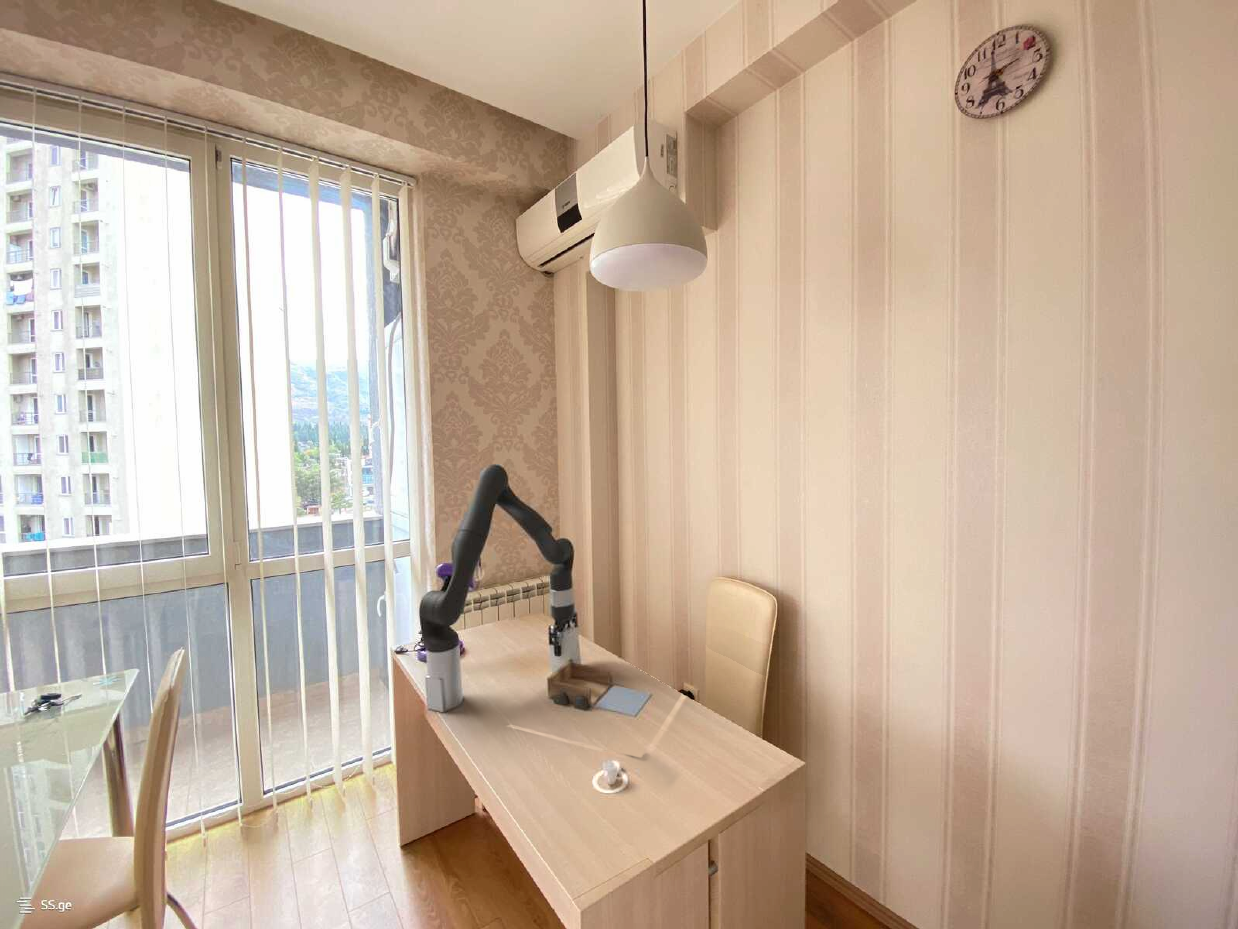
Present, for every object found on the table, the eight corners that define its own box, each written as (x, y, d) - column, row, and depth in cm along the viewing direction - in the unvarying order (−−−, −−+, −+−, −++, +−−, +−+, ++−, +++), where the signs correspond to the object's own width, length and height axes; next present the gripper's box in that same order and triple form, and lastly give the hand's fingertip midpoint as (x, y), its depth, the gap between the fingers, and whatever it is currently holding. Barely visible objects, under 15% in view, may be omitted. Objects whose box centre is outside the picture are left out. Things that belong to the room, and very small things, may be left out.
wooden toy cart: (587, 714, 140) (586, 690, 139) (545, 704, 146) (543, 681, 145) (613, 686, 155) (612, 664, 154) (574, 678, 161) (572, 656, 160)
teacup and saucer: (610, 764, 119) (609, 747, 119) (637, 778, 114) (636, 760, 114) (585, 785, 113) (584, 768, 112) (612, 801, 108) (611, 782, 107)
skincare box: (581, 671, 165) (579, 627, 164) (573, 680, 160) (570, 634, 158) (559, 667, 168) (557, 624, 167) (550, 676, 163) (547, 631, 162)
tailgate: (595, 709, 141) (635, 720, 136) (595, 705, 141) (635, 716, 136) (614, 689, 152) (651, 698, 147) (614, 685, 152) (651, 694, 147)
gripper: (563, 593, 171) (566, 640, 172) (540, 607, 158) (542, 658, 159) (583, 595, 167) (585, 643, 169) (560, 610, 155) (563, 661, 156)
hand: (564, 650), depth 164 cm, fingers open, 8 cm apart
